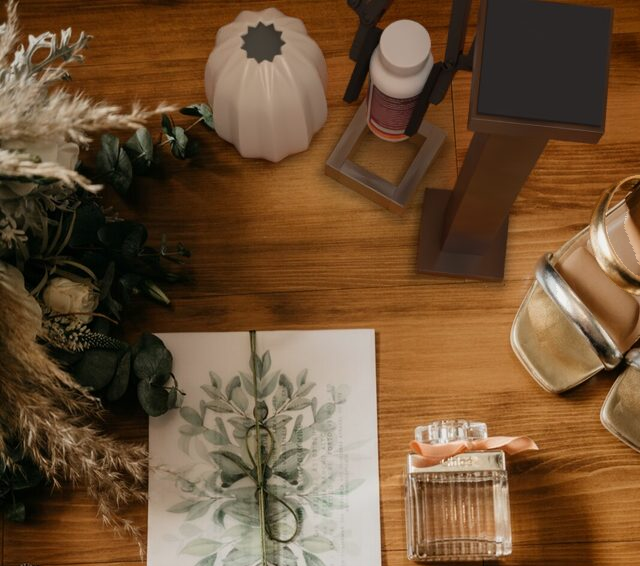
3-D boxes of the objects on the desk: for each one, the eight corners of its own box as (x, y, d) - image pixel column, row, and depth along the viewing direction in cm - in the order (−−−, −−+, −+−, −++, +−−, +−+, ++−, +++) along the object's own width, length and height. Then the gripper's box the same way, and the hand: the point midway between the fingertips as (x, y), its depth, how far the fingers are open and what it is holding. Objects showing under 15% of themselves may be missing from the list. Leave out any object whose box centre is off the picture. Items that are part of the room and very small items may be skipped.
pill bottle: (432, 129, 76) (451, 58, 65) (380, 153, 76) (390, 86, 65) (406, 79, 77) (420, 0, 66) (354, 103, 76) (360, 28, 65)
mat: (609, 12, 54) (610, 9, 54) (599, 127, 53) (601, 125, 53) (487, -1, 54) (488, -4, 54) (476, 114, 53) (477, 111, 53)
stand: (444, 144, 85) (448, 132, 83) (401, 217, 84) (403, 207, 82) (368, 102, 86) (370, 89, 83) (324, 174, 85) (325, 163, 82)
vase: (319, 182, 85) (319, 114, 71) (203, 164, 85) (182, 93, 72) (337, 73, 86) (341, -13, 73) (223, 56, 86) (205, -34, 73)
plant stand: (508, 201, 85) (614, 7, 54) (501, 283, 84) (605, 133, 53) (424, 192, 85) (482, -7, 54) (415, 273, 84) (470, 118, 53)
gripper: (611, -119, 58) (472, 155, 73) (407, -225, 59) (310, 67, 74) (606, -129, 53) (456, 171, 68) (380, -246, 54) (281, 75, 69)
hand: (380, 116), depth 71 cm, fingers closed on pill bottle, 6 cm apart
